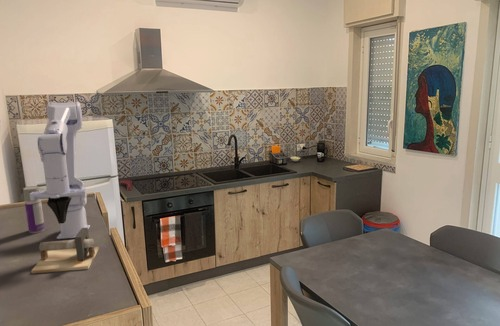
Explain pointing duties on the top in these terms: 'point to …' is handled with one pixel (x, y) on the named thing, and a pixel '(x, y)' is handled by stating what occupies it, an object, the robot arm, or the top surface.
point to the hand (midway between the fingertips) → (62, 222)
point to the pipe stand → (63, 256)
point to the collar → (81, 244)
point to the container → (33, 211)
